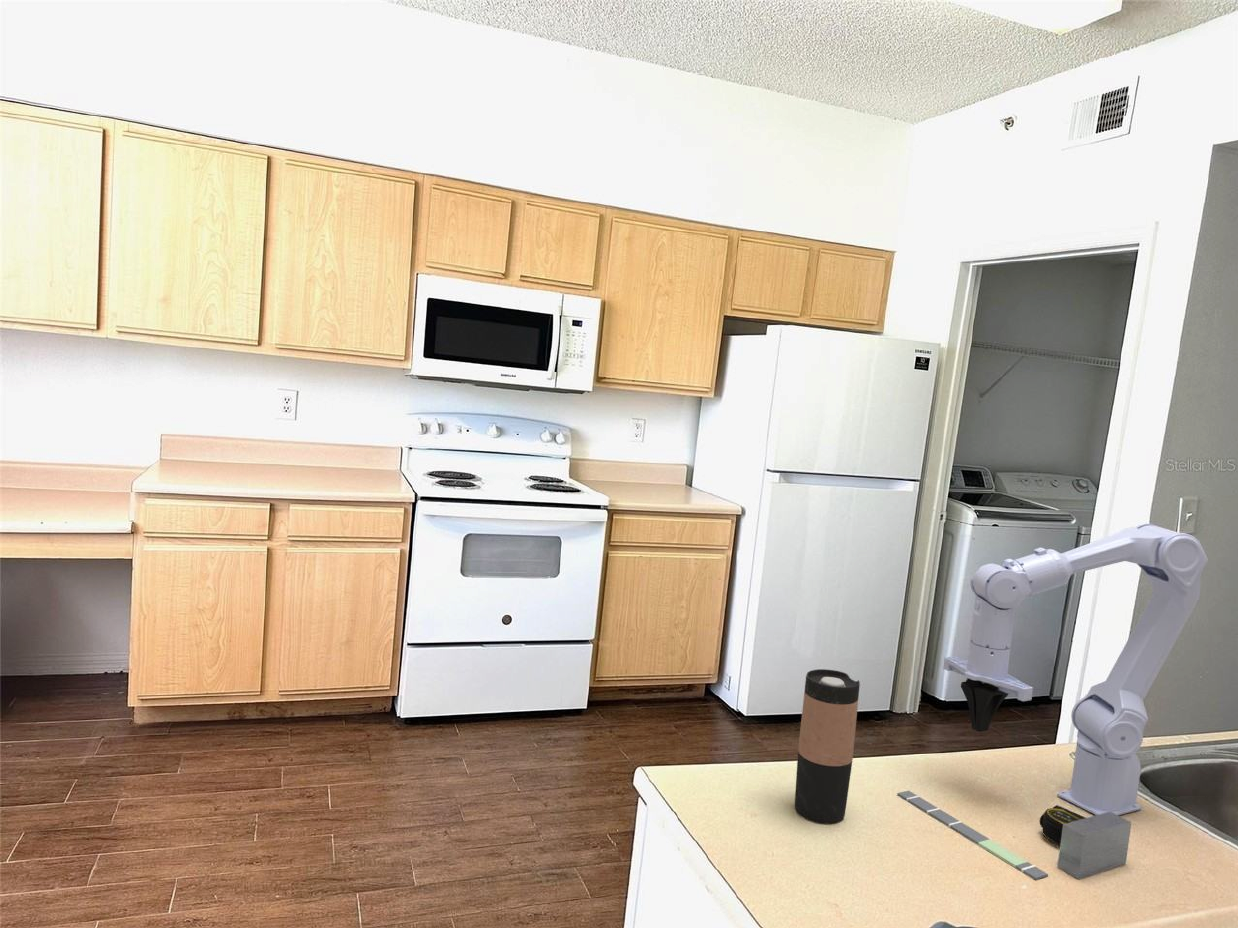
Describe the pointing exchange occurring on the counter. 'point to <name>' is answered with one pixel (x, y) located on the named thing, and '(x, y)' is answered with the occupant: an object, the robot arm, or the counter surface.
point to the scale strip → (975, 836)
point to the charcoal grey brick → (1094, 845)
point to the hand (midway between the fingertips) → (979, 729)
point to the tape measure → (1057, 822)
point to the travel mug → (826, 745)
